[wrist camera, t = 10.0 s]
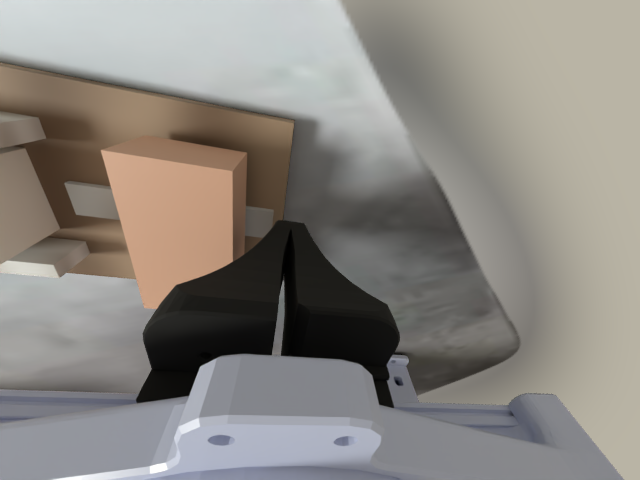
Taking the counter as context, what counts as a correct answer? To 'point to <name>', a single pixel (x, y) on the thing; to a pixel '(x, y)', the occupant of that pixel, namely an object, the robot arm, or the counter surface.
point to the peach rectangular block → (177, 209)
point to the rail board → (111, 129)
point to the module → (21, 204)
